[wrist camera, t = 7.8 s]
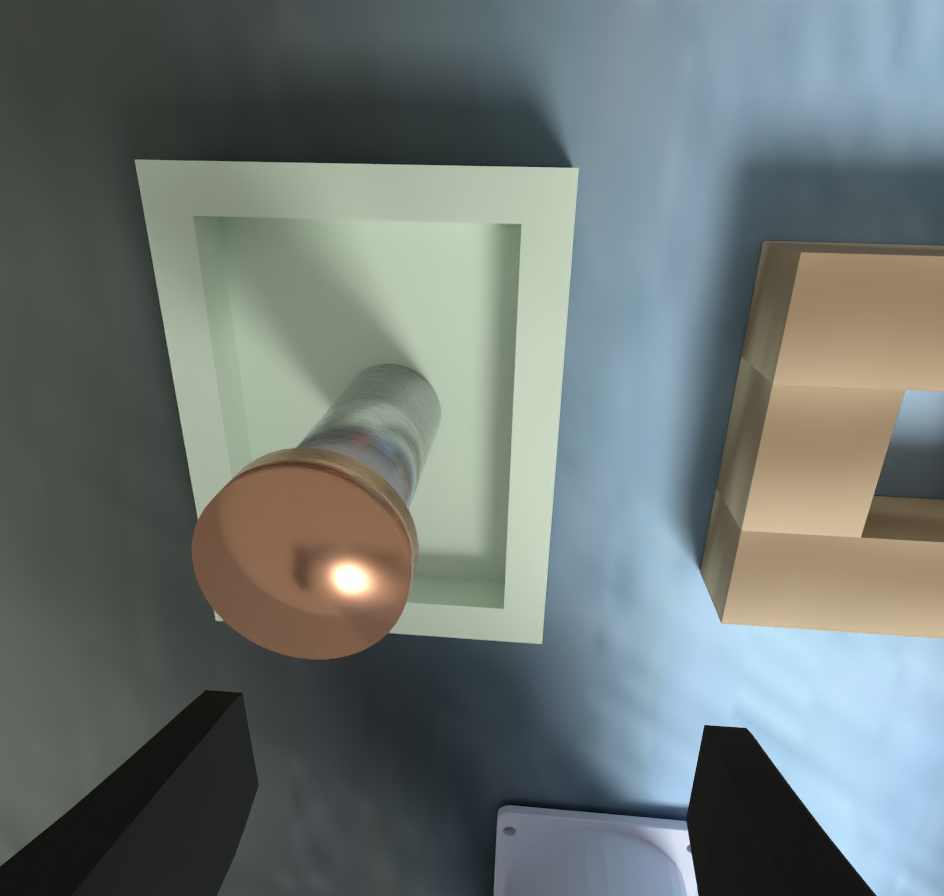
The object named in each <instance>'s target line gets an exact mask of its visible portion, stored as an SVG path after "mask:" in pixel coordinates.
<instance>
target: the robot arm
mask: <svg viewBox="0 0 944 896" xmlns="http://www.w3.org/2000/svg"><path fill="white" fill-rule="evenodd" d="M258 785H259V784H258V779H257V773H256V768H255V762H254V756H253V751H252V745H251V739H250V734H249V728H248V723H247V717H246V711H245V706H244V700H243V695H242V693H237V692H223V691H208V690H205V691H204V692H203V693H202V694H201V695H200V696H199V697H197V698H196V699H195V700H194V701H193V702H192V703H191V704H189V705H188V706H187V707H186V708H185V709H184V710H183V711H181V712H180V713H179V714H178V715H177V716H176V717H175V718H174V719H172V720H171V721H170V722H169V723H168V724H167V725H166V726H165V727H164V728H162V729H161V730H160V731H159V732H158V733H157V734H156V735H155V736H154V737H152V738H151V739H150V740H149V741H148V742H147V743H146V744H145V745H144V746H142V747H141V748H140V749H139V750H138V751H137V752H136V753H135V754H133V755H132V756H131V757H130V758H129V759H128V760H127V761H126V762H125V763H123V764H122V765H121V766H120V767H119V768H118V769H117V770H115V771H114V772H113V773H112V774H111V775H110V776H108V777H107V778H106V779H105V780H104V781H103V782H102V783H100V784H99V785H98V786H97V787H96V788H95V789H93V790H92V791H91V792H90V793H89V794H88V795H87V796H85V797H84V798H83V799H82V800H81V801H80V802H79V803H77V804H76V805H75V806H74V807H73V808H71V809H70V810H69V811H68V812H67V813H66V814H64V815H63V816H62V817H61V818H59V819H58V820H57V821H56V822H55V823H53V824H52V825H51V826H50V827H48V828H47V829H46V830H45V831H43V832H42V833H41V834H40V835H39V836H37V837H36V838H35V839H34V840H32V841H31V842H30V843H29V844H27V845H26V846H25V847H24V848H23V849H21V850H20V851H19V852H18V853H16V854H15V855H14V856H13V857H11V858H10V859H9V860H8V861H7V862H5V863H4V864H3V865H1V866H0V896H217V894H218V891H219V889H220V887H221V885H222V883H223V880H224V878H225V876H226V874H227V872H228V869H229V867H230V865H231V863H232V860H233V858H234V856H235V854H236V851H237V848H238V845H239V842H240V839H241V836H242V834H243V831H244V828H245V825H246V822H247V819H248V816H249V813H250V810H251V807H252V804H253V801H254V798H255V794H256V791H257V788H258ZM697 889H698V895H699V896H876V895H875V893H874V892H873V891H872V890H871V889H870V887H869V886H868V885H867V884H866V882H865V881H864V880H863V879H862V877H861V876H860V875H859V874H858V872H857V871H856V870H855V869H854V868H853V866H852V865H851V864H850V863H849V861H848V860H847V859H846V858H845V856H844V855H843V854H842V853H841V851H840V850H839V849H838V848H837V846H836V845H835V844H834V843H833V841H832V840H831V839H830V838H829V836H828V835H827V834H826V833H825V831H824V830H823V829H822V827H821V826H820V825H819V824H818V822H817V821H816V820H815V818H814V817H813V816H812V814H811V813H810V812H809V811H808V809H807V808H806V807H805V805H804V804H803V803H802V801H801V800H800V799H799V797H798V796H797V795H796V793H795V792H794V791H793V789H792V788H791V787H790V785H789V784H788V783H787V781H786V780H785V779H784V777H783V776H782V775H781V773H780V772H779V771H778V769H777V768H776V766H775V765H774V764H773V762H772V761H771V760H770V758H769V757H768V755H767V754H766V753H765V751H764V750H763V749H762V747H761V746H760V745H759V743H758V742H757V740H756V739H755V738H754V736H753V735H752V734H751V733H750V732H749V731H748V729H747V728H738V727H723V726H709V725H704V730H703V736H702V741H701V746H700V751H699V756H698V761H697V767H696V772H695V777H694V782H693V787H692V792H691V798H690V803H689V808H688V813H687V818H686V821H681V820H670V819H659V818H648V817H637V816H626V815H614V814H603V813H592V812H581V811H570V810H559V809H548V808H537V807H526V806H515V805H506V806H503V807H501V808H500V809H499V811H498V815H497V835H496V855H495V876H494V896H695V895H696V891H697Z"/></svg>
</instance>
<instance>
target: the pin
mask: <svg viewBox="0 0 944 896" xmlns="http://www.w3.org/2000/svg"><path fill="white" fill-rule="evenodd" d="M440 420H441V407H440V403H439V399H438V397H437V394H436V392H435V390H434V389H433V387H432V386H431V384H430V383H429V382H428V381H427V380H426V379H425V378H424V377H423V376H422V375H420V374H419V373H417V372H416V371H414V370H412V369H410V368H408V367H405V366H401V365H397V364H381V365H376V366H373V367H370V368H368V369H366V370H364V371H363V372H361V373H360V374H359V375H358V376H356V378H355V379H354V380H353V381H352V382H351V383H350V384H349V386H348V387H347V388H346V389H345V390H344V392H343V393H342V394H341V395H340V396H339V398H338V399H337V400H336V401H335V402H334V403H333V405H332V406H331V407H330V408H329V409H328V411H327V412H326V413H325V414H324V415H323V416H322V418H321V419H320V420H319V421H318V422H317V424H316V425H315V426H314V427H313V428H312V429H311V431H310V432H309V433H308V434H307V435H306V437H305V438H304V439H303V440H302V441H301V442H300V444H299V445H298V446H297V447H296V448H291V449H283V450H279V451H275V452H272V453H268V454H266V455H264V456H262V457H259V458H257V459H255V460H254V461H252V462H251V463H249V464H247V465H246V466H245V467H244V468H243V469H242V470H240V471H239V472H238V473H237V474H236V475H235V476H234V477H233V478H232V479H231V480H230V481H229V482H228V483H227V484H226V485H225V486H224V488H223V489H222V490H221V491H220V492H219V493H218V494H217V495H216V496H215V497H214V498H213V499H212V500H211V501H210V502H209V504H208V505H207V506H206V507H205V508H204V510H203V512H202V514H201V515H200V517H199V519H198V521H197V524H196V527H195V529H194V534H193V539H192V553H191V554H192V563H193V568H194V572H195V576H196V579H197V581H198V584H199V586H200V589H201V591H202V592H203V594H204V596H205V598H206V599H207V601H208V602H209V604H210V605H211V606H212V608H213V609H214V610H215V612H216V613H217V614H218V615H219V616H220V617H221V618H222V619H223V620H224V621H225V622H226V623H227V624H228V625H229V626H230V627H231V628H233V629H234V630H235V631H236V632H238V633H239V634H241V635H242V636H244V637H245V638H247V639H248V640H250V641H252V642H254V643H255V644H257V645H259V646H261V647H264V648H266V649H268V650H271V651H274V652H277V653H280V654H283V655H287V656H291V657H296V658H303V659H321V660H323V659H334V658H340V657H345V656H349V655H352V654H355V653H358V652H360V651H362V650H365V649H367V648H369V647H371V646H372V645H374V644H375V643H377V642H378V641H380V640H381V639H382V638H383V637H384V636H385V635H387V634H388V633H389V632H390V630H391V629H392V628H393V627H394V626H395V624H396V623H397V621H398V620H399V618H400V616H401V614H402V612H403V610H404V607H405V605H406V602H407V598H408V595H409V591H410V588H411V584H412V581H413V578H414V574H415V571H416V566H417V562H418V551H419V545H418V535H417V531H416V527H415V524H414V521H413V519H412V516H411V514H410V511H409V508H410V505H411V503H412V500H413V497H414V494H415V492H416V489H417V486H418V483H419V480H420V478H421V475H422V472H423V469H424V467H425V464H426V461H427V458H428V456H429V453H430V450H431V447H432V444H433V442H434V439H435V436H436V433H437V431H438V428H439V425H440Z"/></svg>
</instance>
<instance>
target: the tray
mask: <svg viewBox="0 0 944 896" xmlns="http://www.w3.org/2000/svg"><path fill="white" fill-rule="evenodd" d="M135 165H136V170H137V176H138V182H139V187H140V193H141V199H142V205H143V210H144V216H145V222H146V227H147V233H148V239H149V244H150V250H151V256H152V261H153V267H154V273H155V278H156V284H157V290H158V295H159V301H160V307H161V313H162V318H163V324H164V330H165V335H166V341H167V347H168V352H169V358H170V364H171V369H172V375H173V381H174V386H175V392H176V398H177V403H178V409H179V415H180V421H181V426H182V432H183V438H184V443H185V449H186V455H187V460H188V466H189V472H190V477H191V483H192V489H193V494H194V500H195V506H196V511H197V517H198V519H199V517H200V515H201V514H202V512H203V510H204V508H205V507H206V506H207V505H208V504H209V502H210V501H211V500H212V499H213V498H214V497H215V496H216V495H217V494H218V493H219V492H220V491H221V490H222V489H223V488H224V486H225V485H226V484H227V483H228V482H229V481H230V480H231V479H232V478H233V477H234V476H235V475H236V474H237V473H238V472H239V471H240V470H242V469H243V468H244V467H245V466H246V465H247V464H249V463H251V462H252V461H254V460H255V459H257V458H259V457H262V456H264V455H266V454H268V453H272V452H275V451H279V450H283V449H291V448H296V447H297V446H298V445H299V444H300V442H301V441H302V440H303V439H304V438H305V437H306V435H307V434H308V433H309V432H310V431H311V429H312V428H313V427H314V426H315V425H316V424H317V422H318V421H319V420H320V419H321V418H322V416H323V415H324V414H325V413H326V412H327V411H328V409H329V408H330V407H331V406H332V405H333V403H334V402H335V401H336V400H337V399H338V398H339V396H340V395H341V394H342V393H343V392H344V390H345V389H346V388H347V387H348V386H349V384H350V383H351V382H352V381H353V380H354V379H355V378H356V376H358V375H359V374H360V373H361V372H363V371H364V370H366V369H368V368H370V367H373V366H376V365H381V364H397V365H401V366H405V367H408V368H410V369H412V370H414V371H416V372H417V373H419V374H420V375H422V376H423V377H424V378H425V379H426V380H427V381H428V382H429V383H430V384H431V386H432V387H433V389H434V390H435V392H436V394H437V397H438V399H439V403H440V407H441V420H440V425H439V428H438V431H437V433H436V436H435V439H434V442H433V444H432V447H431V450H430V453H429V456H428V458H427V461H426V464H425V467H424V469H423V472H422V475H421V478H420V480H419V483H418V486H417V489H416V492H415V494H414V497H413V500H412V503H411V505H410V508H409V511H410V514H411V516H412V519H413V521H414V524H415V527H416V531H417V535H418V545H419V551H418V562H417V566H416V571H415V574H414V578H413V581H412V584H411V588H410V591H409V595H408V598H407V602H406V605H405V607H404V610H403V612H402V614H401V616H400V618H399V620H398V621H397V623H396V624H395V626H394V627H393V628H392V629H391V630H390V632H389V633H395V634H409V635H422V636H436V637H450V638H464V639H478V640H492V641H506V642H520V643H534V644H542V638H543V625H544V612H545V599H546V586H547V573H548V560H549V547H550V534H551V521H552V508H553V495H554V482H555V469H556V456H557V443H558V430H559V417H560V404H561V391H562V378H563V365H564V352H565V339H566V326H567V313H568V300H569V287H570V274H571V261H572V248H573V235H574V222H575V209H576V196H577V183H578V170H579V168H553V167H500V166H447V165H394V164H341V163H288V162H235V161H182V160H135ZM214 614H215V619H216V621H224V620H223V619H222V618H221V617H220V616H219V615H218V614H217V613H216V612H215V610H214Z"/></svg>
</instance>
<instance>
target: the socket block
mask: <svg viewBox="0 0 944 896" xmlns="http://www.w3.org/2000/svg"><path fill="white" fill-rule="evenodd" d="M905 390H921V391H944V245H906V244H868V243H830V242H793V241H763V245H762V250H761V255H760V260H759V266H758V271H757V276H756V281H755V287H754V292H753V297H752V302H751V308H750V313H749V318H748V323H747V329H746V334H745V339H744V344H743V350H742V355H741V360H740V365H739V371H738V376H737V381H736V387H735V392H734V397H733V402H732V408H731V413H730V418H729V423H728V429H727V434H726V439H725V444H724V450H723V455H722V460H721V465H720V471H719V476H718V481H717V486H716V492H715V497H714V502H713V507H712V513H711V518H710V523H709V528H708V534H707V539H706V544H705V549H704V555H703V560H702V565H701V570H700V573H701V575H702V578H703V580H704V583H705V585H706V587H707V590H708V592H709V595H710V597H711V599H712V602H713V604H714V607H715V609H716V611H717V614H718V616H719V619H720V621H721V623H723V624H737V625H752V626H767V627H781V628H796V629H811V630H825V631H840V632H855V633H869V634H884V635H899V636H913V637H928V638H943V639H944V499H925V498H906V497H888V496H874V492H875V489H876V486H877V482H878V479H879V476H880V472H881V469H882V466H883V462H884V459H885V456H886V453H887V449H888V446H889V443H890V439H891V436H892V433H893V429H894V426H895V423H896V419H897V416H898V413H899V409H900V406H901V403H902V400H903V396H904V393H905Z"/></svg>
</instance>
